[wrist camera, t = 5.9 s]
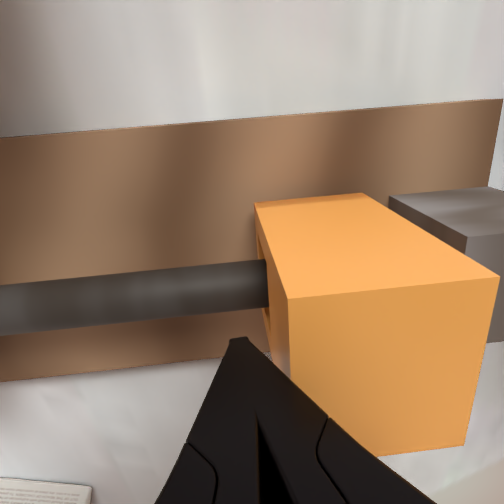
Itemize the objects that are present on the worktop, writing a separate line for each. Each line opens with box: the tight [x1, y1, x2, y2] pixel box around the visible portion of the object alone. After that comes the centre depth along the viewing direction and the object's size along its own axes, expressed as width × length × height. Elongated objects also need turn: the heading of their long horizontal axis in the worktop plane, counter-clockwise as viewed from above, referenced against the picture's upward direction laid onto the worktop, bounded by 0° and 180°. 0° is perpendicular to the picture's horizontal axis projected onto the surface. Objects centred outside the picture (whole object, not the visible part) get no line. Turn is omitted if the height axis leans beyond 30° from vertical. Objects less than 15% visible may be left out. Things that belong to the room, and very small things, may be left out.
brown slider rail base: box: [0, 99, 504, 382], centre depth 13 cm, size 24×10×6 cm, turn 94°
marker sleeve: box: [254, 193, 500, 457], centre depth 11 cm, size 4×4×7 cm
